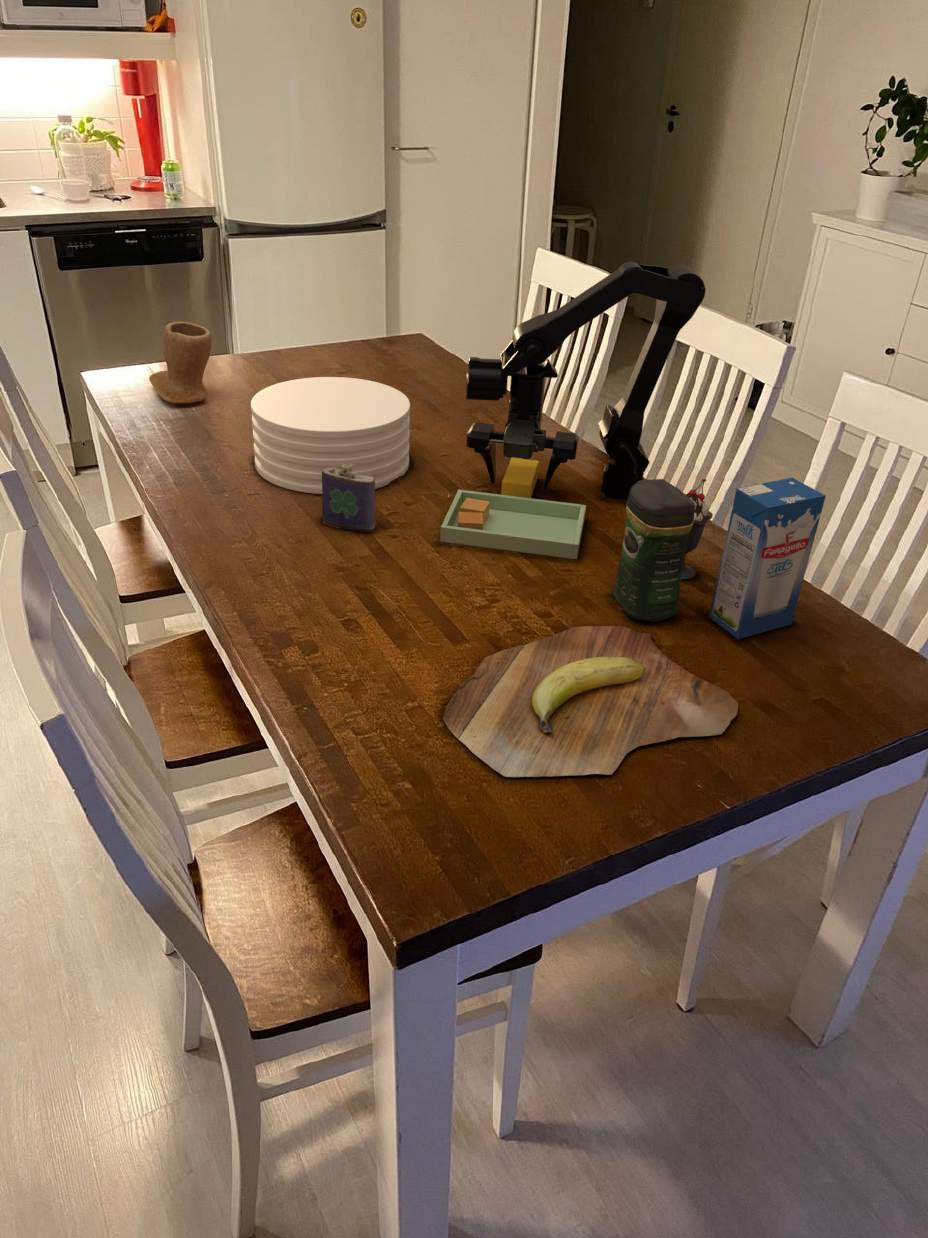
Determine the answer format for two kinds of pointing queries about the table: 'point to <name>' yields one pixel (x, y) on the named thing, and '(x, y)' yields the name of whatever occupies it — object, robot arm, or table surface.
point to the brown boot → (183, 363)
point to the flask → (348, 499)
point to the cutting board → (581, 703)
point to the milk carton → (765, 556)
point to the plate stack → (329, 431)
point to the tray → (519, 525)
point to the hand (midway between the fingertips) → (519, 486)
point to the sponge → (520, 478)
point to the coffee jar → (653, 550)
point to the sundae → (696, 527)
